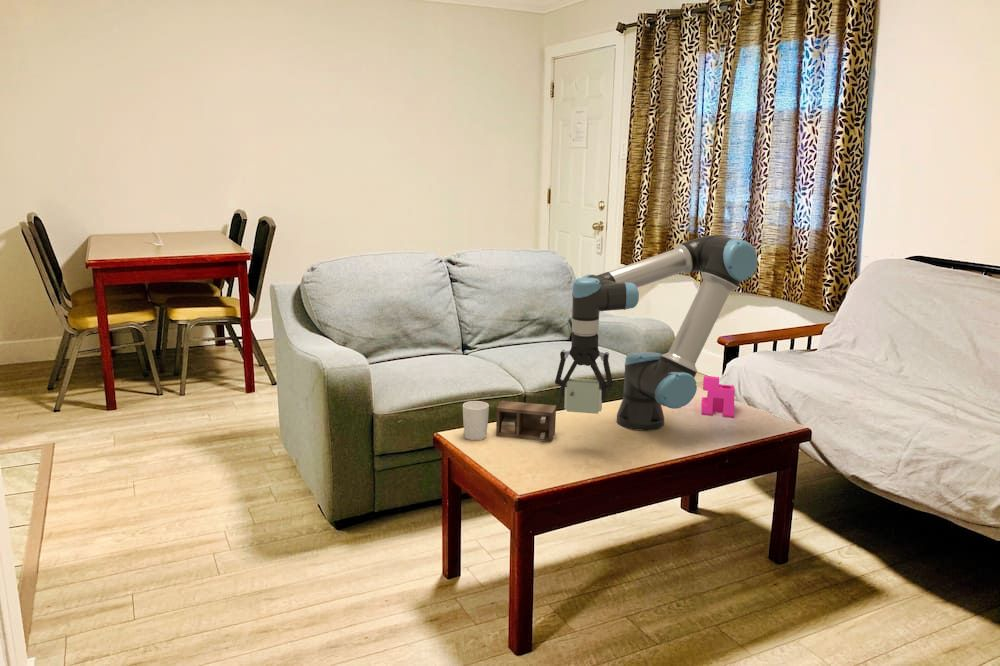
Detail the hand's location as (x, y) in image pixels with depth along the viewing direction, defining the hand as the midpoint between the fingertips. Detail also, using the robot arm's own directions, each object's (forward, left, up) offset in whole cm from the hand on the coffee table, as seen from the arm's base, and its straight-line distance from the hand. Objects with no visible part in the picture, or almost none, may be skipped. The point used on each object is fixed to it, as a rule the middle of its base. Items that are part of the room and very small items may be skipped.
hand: (583, 408), depth 221 cm
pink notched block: (-40, -47, -13) cm, 63 cm away
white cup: (+32, -1, -13) cm, 35 cm away
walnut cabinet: (+18, -5, -12) cm, 22 cm away
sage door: (0, 0, -1) cm, 1 cm away
